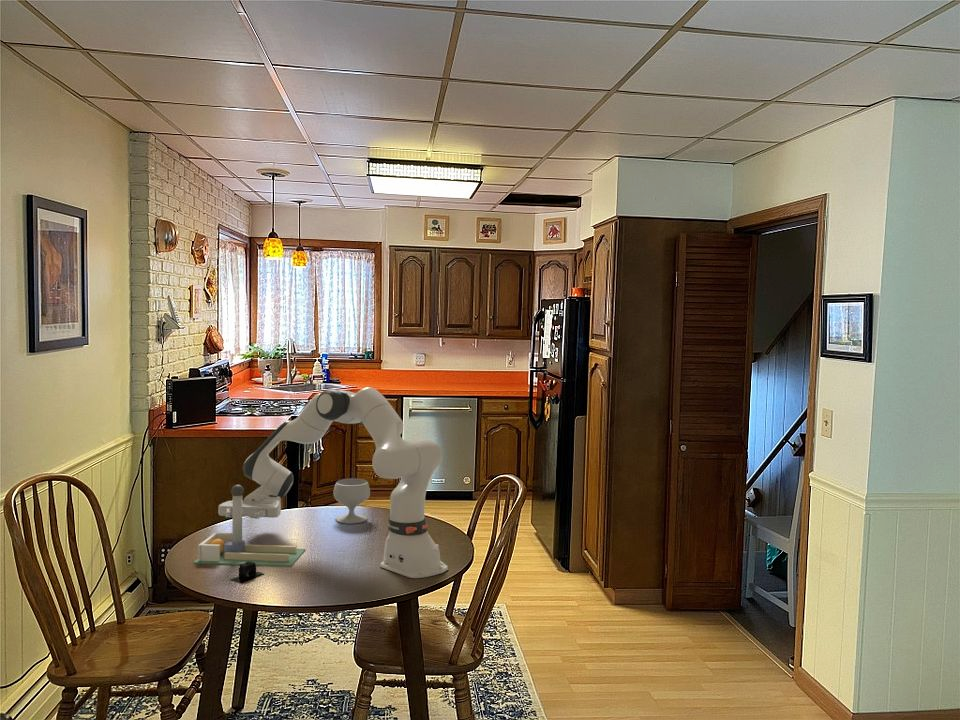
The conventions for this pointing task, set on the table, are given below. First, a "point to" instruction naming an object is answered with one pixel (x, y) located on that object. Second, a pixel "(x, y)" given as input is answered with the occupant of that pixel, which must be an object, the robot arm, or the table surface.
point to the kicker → (236, 522)
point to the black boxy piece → (247, 573)
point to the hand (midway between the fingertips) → (241, 515)
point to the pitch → (292, 559)
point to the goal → (213, 553)
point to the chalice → (351, 498)
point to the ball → (219, 542)
